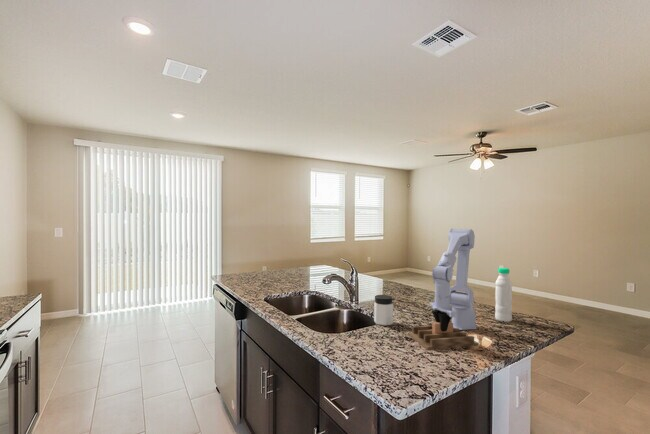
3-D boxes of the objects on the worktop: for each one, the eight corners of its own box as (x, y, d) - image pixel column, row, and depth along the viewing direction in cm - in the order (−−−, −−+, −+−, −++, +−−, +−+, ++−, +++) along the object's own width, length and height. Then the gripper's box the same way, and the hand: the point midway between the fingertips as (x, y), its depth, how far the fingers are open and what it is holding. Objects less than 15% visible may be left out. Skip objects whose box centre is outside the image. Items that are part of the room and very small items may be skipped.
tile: (449, 336, 128) (449, 321, 128) (453, 338, 126) (453, 323, 126) (432, 337, 126) (432, 322, 126) (435, 339, 124) (435, 324, 124)
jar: (382, 326, 140) (382, 300, 140) (370, 321, 147) (370, 296, 147) (396, 323, 145) (396, 297, 145) (384, 318, 152) (384, 293, 152)
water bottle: (496, 321, 150) (496, 268, 150) (494, 316, 156) (494, 266, 156) (513, 323, 147) (513, 269, 147) (510, 318, 154) (510, 267, 154)
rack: (454, 331, 135) (454, 323, 135) (478, 345, 121) (478, 336, 121) (407, 334, 131) (407, 326, 131) (426, 349, 116) (426, 340, 116)
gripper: (423, 292, 132) (423, 324, 132) (443, 300, 118) (443, 337, 118) (438, 291, 134) (438, 323, 134) (460, 300, 119) (460, 335, 119)
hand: (441, 329), depth 126 cm, fingers closed on tile, 2 cm apart
